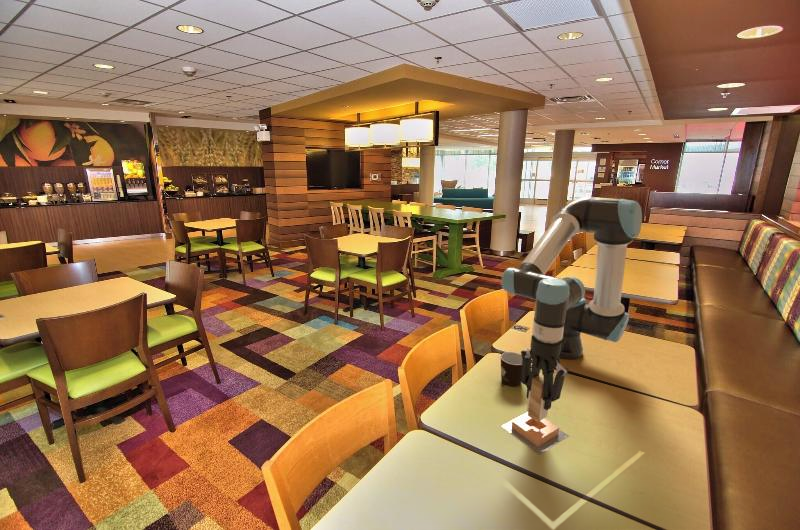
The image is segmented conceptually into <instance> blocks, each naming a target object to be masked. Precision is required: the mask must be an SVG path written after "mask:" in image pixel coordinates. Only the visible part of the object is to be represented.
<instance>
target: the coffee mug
mask: <svg viewBox="0 0 800 530" xmlns="http://www.w3.org/2000/svg"><path fill="white" fill-rule="evenodd" d="M500 375H501V376H500V377H501V385H502V386H503V387H504V386H507V387H509V388H510V387H511V388H517V387H519V386H521V384H522V382H521V381H522V355H521V353H518V352H516V351H506V352H504V351H502V352H500Z"/></svg>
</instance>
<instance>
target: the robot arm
mask: <svg viewBox="0 0 800 530" xmlns="http://www.w3.org/2000/svg"><path fill="white" fill-rule="evenodd" d="M642 223H643V213H642V207H641V205H640V203H639V202H638V201H636V200H630V199H625V198H612V197H611V198H608V197H607V198H606V197H593V196H585V197H581V198H577V199H575V200H572V201H570V202H568V203H566V204H565V205H563V206H562V207H561V208H559V209H558V210H557V211H556V212H555V213H554V215H552V218H551V219H550V226H548V228H546V230H545V232H544V233H543V235H542V236H541V237H540V238H539V239H538V241H537V242H536V243H535V244H534V247H533V248H532V249H531V250H530V252H529V253H528V254H527V255H526V257H525V258H524V259H523V261H522V262H521V263H520V265H519V266H518V267H517V268H516V267H508V268H506V269H505V270H504V272H503V273H502V276H501V279H500V280H501V281H500V282H501V288H502V290H503V291H505V292H507V293H510V294H513V295H515V296H516V295H517V296H521V297H526V298H529V299H532V300H535V307H534V316H533V324H532V331H531V332H532V335H531V337H530V346H529V347H530V349H529V348H526V349H523V350H521V351H520V354H521V355H522V381H521V384H523V385H525V386H526V389H527V390H526V395H525V396H526V398H527V404H526V405H527V406H526V412H528V410H529V401H530V393H531V385H532V378H534V377H536V376H538V375H540V373H542V375H541V376H543V377H544V397H542V398H541V404H540V411H539V419H540V420H542V419H543V418H545V419H546V418H547V416H548V411H549V410H550V409H551V408H552V402H553V403H554V402H555V401H557V400H559V399H560V398H561V394H562V390H563V386H564V381H565V377H566V376H567V374H569V369H568V367H563V366H562V365H561V360H560V359H564V360H576V359H579V358H581V357H582V356H583V352H584V348H583V347H584V346H583V344H582V338H581V334H585V335H588V336H591V337H595V338H598V339H602V340H603V341H609V342H613V343H618V342H619V341H620V340H621V339H622V337H623V335H624V332H625V331H626V328H627V326H628V322H629V319H630V314H629V313H628V312H626V311H625V305H624V304H623V303H621V299H622V291H623V285H624V284H623V283H624V274H625V267H626V266H625V265H626V257H627V250H628V245H629V244H631V243H632V242H634V238H637V237H639V235H640V233H641V231H642V230H641V229H642ZM579 232H587V233H588V232H589V233H593V240H594V241H595V242H596V243H597V255H596V268H595V280H594V291H593V299H592V300H591V301H589V303H587V300H586V298H585V294H586V287H585V284H584V283H583V281H581V280H580V279H579V278H577V277H574V276H569V277H568V276H567V277H563V278H559V277H556V276H551V275H548V274H547V275H546V273H547V272H548V270H549V269H550V267H551V266H552V264H553V263H554V262H555V261H556V259H557V257H558V256H559V254H560V253H561V252H562V250H563V249H564V247H565V246H566V245H567V244H568V242H569V240H570V239H571V237H575V236H576V235H577V234H578V233H579ZM555 369H556V370H555ZM541 371H542V372H541ZM554 374H556V375H555V376H554Z"/></svg>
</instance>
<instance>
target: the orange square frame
mask: <svg viewBox="0 0 800 530" xmlns="http://www.w3.org/2000/svg"><path fill="white" fill-rule="evenodd" d="M525 413H526V414H525ZM525 413H523V414H524V415H523V414H521V415H522V416H521V415H520V416H521V417H519V416H518V417H519V418H517V417H516V418H517V419H515V418H514V419H515V420H514V419H512V420H513V421H512V420H511V421H512V427H511V428H513V429H514V430H516V431H517V432H518V433H520V434H521V435H522V436H524V437H525V438H526V439H528V440H529V441H530V442H532V443H533V444H535V445H536V446H537V447H539V446H540V445H542V444H543V443H545V442H547V441H548V440H550V439H551V438H553V437H555V436H556V435H558V433H559V429H560V426H557V425H556V424H554V423H553V422H552V421H550V420H548V419H547V418H546V417H545V418H544V419H542V420H540V421H538V422H536V421H535V420H533V419H532V418H530V417H529V416H528V413H527V412H525Z"/></svg>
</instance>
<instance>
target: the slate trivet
mask: <svg viewBox="0 0 800 530" xmlns="http://www.w3.org/2000/svg"><path fill="white" fill-rule="evenodd" d="M526 413H528V411H526V412H525V413H523V414H521V415H519V416H518V417H515V418H513V419H512V420H510V421H507V423H504V424H503V425H501V427H502V428H503V429H505V430H506V431H507V433H510V434H511V435H512V436H514V437H515V439H516V438H517V440H519V441H521V442H522V444H524V445H526V446H527V447H528V448H530V449H531V450H532V451H534V452H535V453H536V454H537V455H539V456H540V455H542V454H543V453H545V452H546V451H548V450H549V449H551V448H553V447H554V446H556V445H557V444H559V443H560V442H562V441H563V440H565V439H566V438H568V437H570V435H569V434H567V433H565V431H563V430H561V429H560V428H559V433H558V435H556V436H555V437H553V438H551V439H550V440H548V441H547V442H545V443H543V444H542V445H540V446H539V447H537V446H536V445H535V444H533V443H532V442H530V441H529V440H528V439H526V438H525V437H524V436H522V435H521V434H520V433H518V432H517V431H516V430H514V429H513V428H511V427H512V421H513V420H515V419H517V418H519V417H521V416H522V415H524V414H526Z"/></svg>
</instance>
